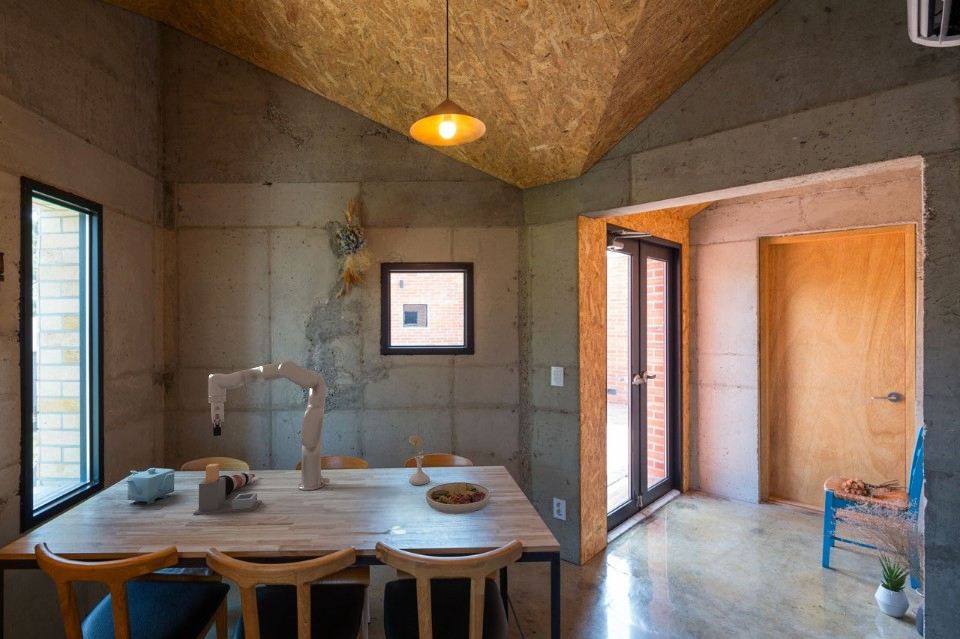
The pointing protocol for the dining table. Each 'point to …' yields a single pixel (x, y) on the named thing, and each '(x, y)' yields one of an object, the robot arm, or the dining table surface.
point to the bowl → (457, 497)
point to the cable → (236, 481)
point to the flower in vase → (418, 463)
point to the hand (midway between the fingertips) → (217, 433)
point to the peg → (212, 473)
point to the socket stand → (223, 499)
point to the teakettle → (150, 484)
